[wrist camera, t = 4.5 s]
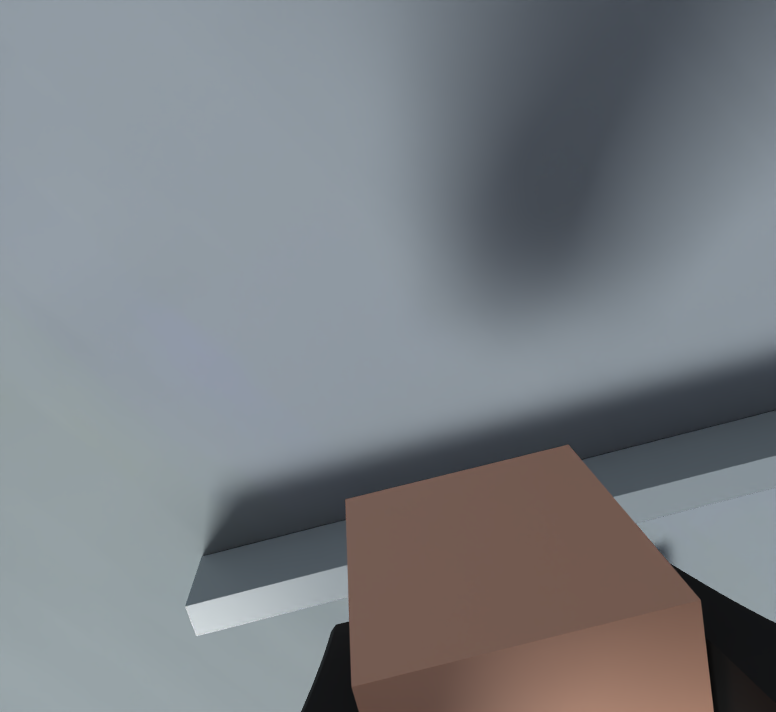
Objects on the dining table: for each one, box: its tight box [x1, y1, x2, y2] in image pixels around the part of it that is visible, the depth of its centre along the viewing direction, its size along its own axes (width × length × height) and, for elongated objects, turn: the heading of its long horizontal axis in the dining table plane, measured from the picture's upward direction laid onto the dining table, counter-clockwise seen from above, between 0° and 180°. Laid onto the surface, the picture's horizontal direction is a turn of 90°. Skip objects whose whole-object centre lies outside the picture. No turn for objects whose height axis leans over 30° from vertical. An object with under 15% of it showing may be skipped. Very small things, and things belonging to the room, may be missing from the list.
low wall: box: [185, 411, 776, 636], centre depth 20 cm, size 20×1×2 cm, turn 103°
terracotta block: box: [345, 445, 714, 712], centre depth 12 cm, size 4×4×5 cm
